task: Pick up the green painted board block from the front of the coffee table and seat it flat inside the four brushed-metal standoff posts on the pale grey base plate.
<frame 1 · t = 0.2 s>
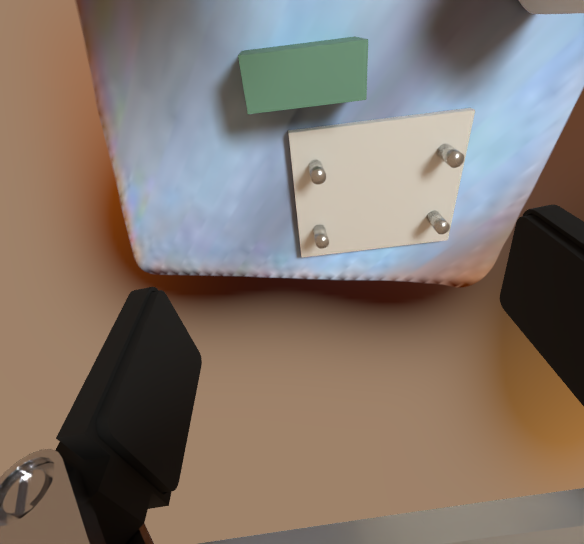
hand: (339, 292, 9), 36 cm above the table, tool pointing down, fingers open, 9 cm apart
standoff plate: (375, 189, 46), on the table
board block: (300, 70, 37), on the table
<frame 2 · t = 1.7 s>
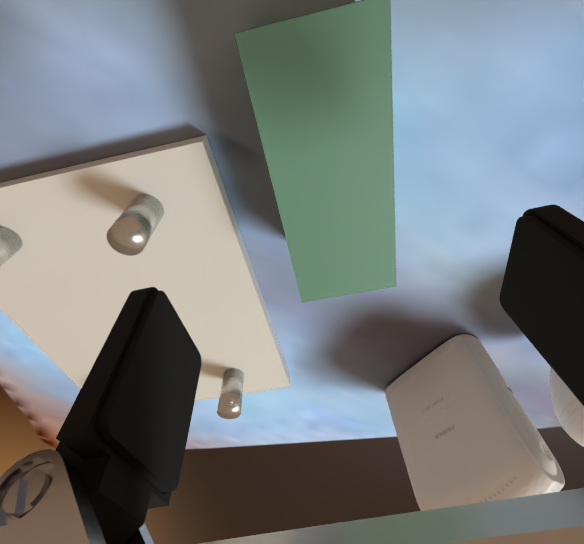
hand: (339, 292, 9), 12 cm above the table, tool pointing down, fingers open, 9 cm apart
photo printer: (430, 365, 31), on the table
standoff plate: (145, 307, 26), on the table
board block: (320, 146, 19), on the table
spinning top: (551, 326, 29), on the table
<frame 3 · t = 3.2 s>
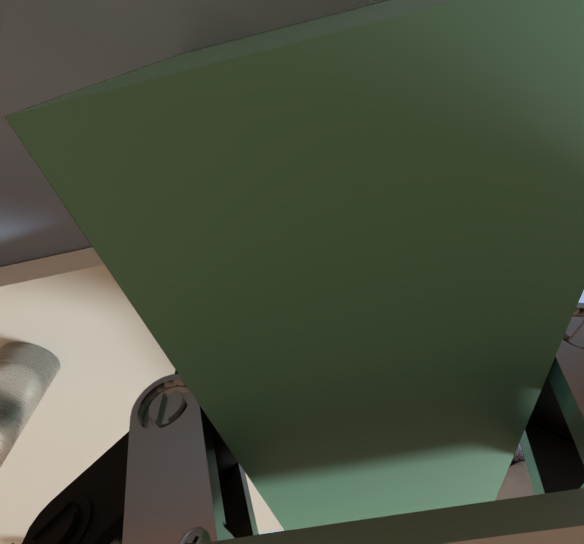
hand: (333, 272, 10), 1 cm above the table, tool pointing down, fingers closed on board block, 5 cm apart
photo printer: (473, 488, 23), on the table
standoff plate: (66, 455, 17), on the table
board block: (329, 254, 11), on the table, touching gripper
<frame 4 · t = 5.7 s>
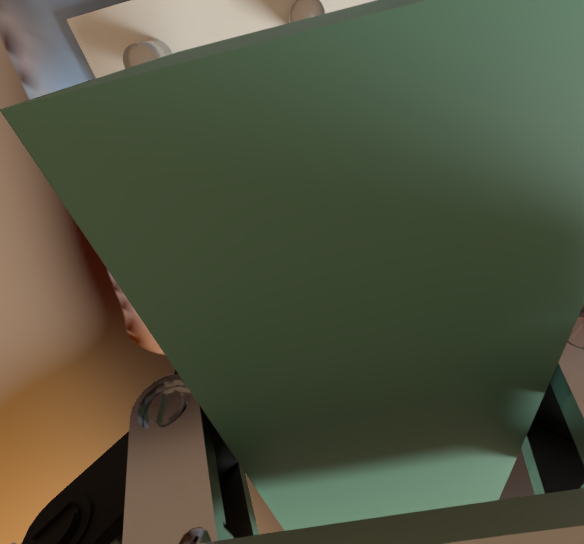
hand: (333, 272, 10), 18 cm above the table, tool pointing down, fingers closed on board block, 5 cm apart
standoff plate: (265, 160, 26), on the table
board block: (330, 254, 11), point 17 cm above the table, touching gripper
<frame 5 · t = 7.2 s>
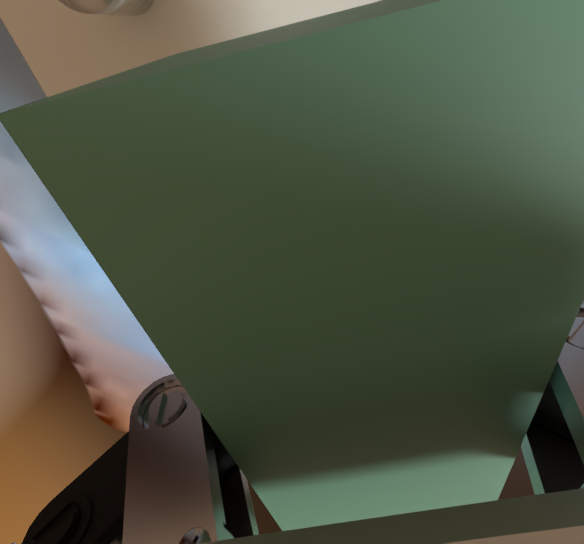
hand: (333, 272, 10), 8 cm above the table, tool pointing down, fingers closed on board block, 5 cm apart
standoff plate: (309, 177, 16), on the table
board block: (329, 255, 11), point 7 cm above the table, touching gripper
when the fingers open (3 cm above the table, at t = 8.5 s): board block drops 1 cm, resting on standoff plate.
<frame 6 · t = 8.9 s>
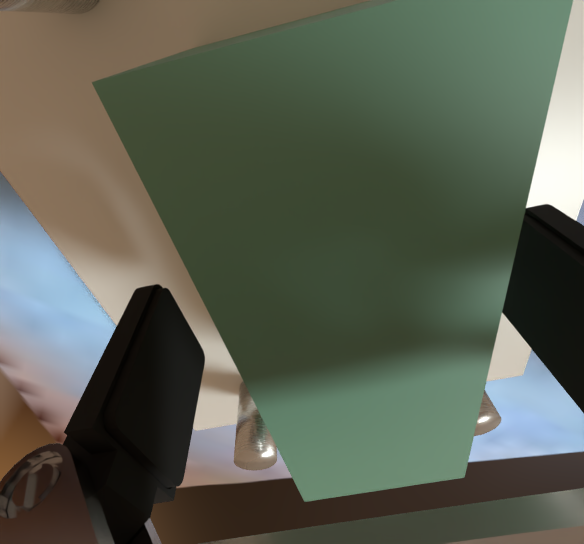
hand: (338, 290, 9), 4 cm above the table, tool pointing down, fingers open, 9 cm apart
standoff plate: (319, 217, 13), on the table
board block: (327, 231, 12), point 1 cm above the table, touching standoff plate
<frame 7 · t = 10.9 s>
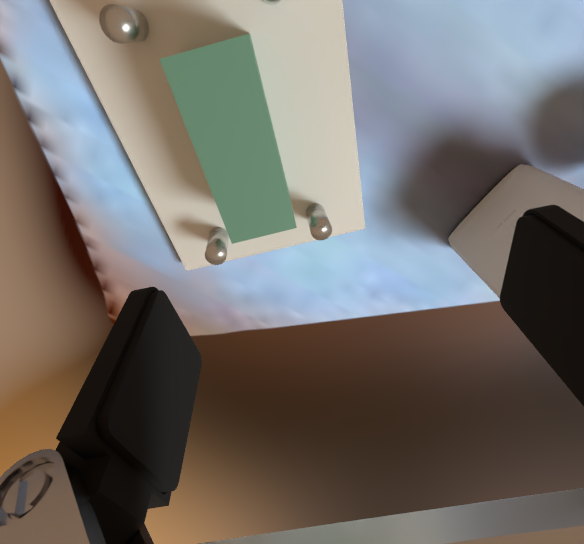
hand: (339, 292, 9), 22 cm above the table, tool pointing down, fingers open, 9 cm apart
photo printer: (489, 208, 34), on the table
standoff plate: (240, 131, 27), on the table
board block: (241, 133, 26), point 1 cm above the table, touching standoff plate
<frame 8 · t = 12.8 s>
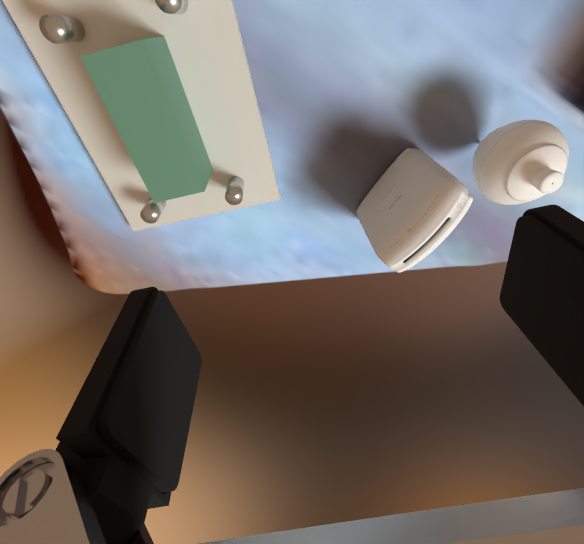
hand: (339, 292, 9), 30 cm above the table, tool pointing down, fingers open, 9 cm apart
photo printer: (389, 186, 40), on the table
standoff plate: (168, 114, 34), on the table
board block: (167, 116, 33), point 1 cm above the table, touching standoff plate
spinning top: (478, 141, 37), on the table
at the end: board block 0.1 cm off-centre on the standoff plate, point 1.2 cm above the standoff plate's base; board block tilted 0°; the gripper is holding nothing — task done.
